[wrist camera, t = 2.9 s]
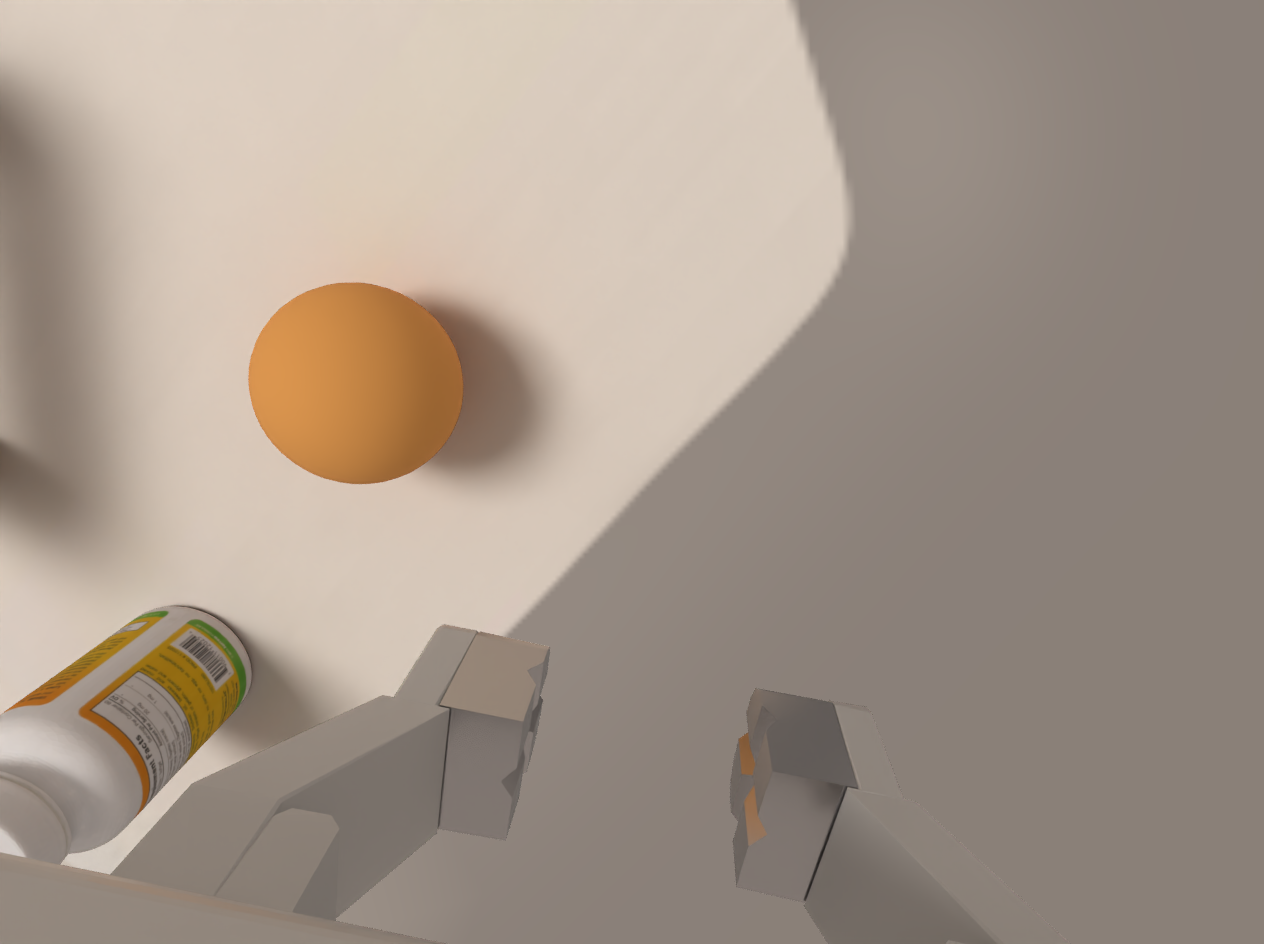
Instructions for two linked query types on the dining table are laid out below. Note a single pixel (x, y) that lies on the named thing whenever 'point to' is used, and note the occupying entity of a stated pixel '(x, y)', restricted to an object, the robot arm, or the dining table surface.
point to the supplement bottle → (114, 730)
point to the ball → (355, 383)
